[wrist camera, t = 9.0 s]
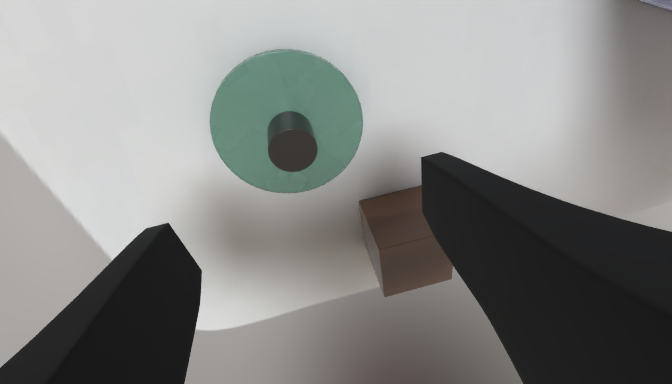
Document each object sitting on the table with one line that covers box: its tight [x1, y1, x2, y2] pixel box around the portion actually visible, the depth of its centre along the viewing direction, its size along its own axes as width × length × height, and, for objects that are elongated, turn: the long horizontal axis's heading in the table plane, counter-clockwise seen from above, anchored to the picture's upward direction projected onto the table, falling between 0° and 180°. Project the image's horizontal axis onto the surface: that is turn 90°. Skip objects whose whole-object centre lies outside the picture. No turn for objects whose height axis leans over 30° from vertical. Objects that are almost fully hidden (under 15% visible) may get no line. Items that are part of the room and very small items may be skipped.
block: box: [359, 186, 453, 297], centre depth 18 cm, size 4×4×4 cm
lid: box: [210, 49, 363, 193], centre depth 14 cm, size 7×7×3 cm
